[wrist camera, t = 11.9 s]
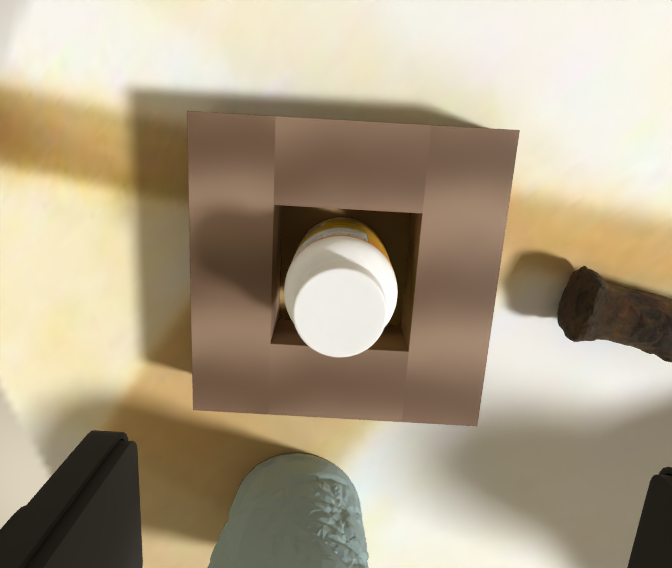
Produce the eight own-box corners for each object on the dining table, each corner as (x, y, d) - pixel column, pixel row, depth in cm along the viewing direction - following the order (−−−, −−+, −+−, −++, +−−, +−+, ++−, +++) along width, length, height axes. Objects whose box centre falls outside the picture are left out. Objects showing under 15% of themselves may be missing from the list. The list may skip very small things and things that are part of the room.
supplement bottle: (383, 306, 32) (399, 377, 23) (294, 302, 32) (274, 370, 23) (390, 218, 30) (410, 254, 21) (297, 213, 30) (276, 247, 21)
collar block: (208, 114, 29) (187, 110, 25) (496, 131, 29) (519, 130, 25) (210, 378, 33) (193, 409, 29) (461, 392, 33) (477, 426, 29)
